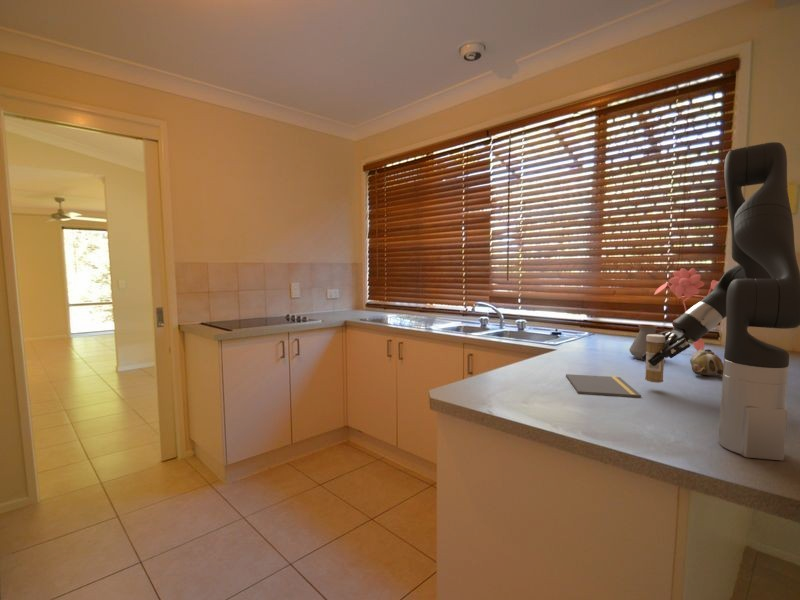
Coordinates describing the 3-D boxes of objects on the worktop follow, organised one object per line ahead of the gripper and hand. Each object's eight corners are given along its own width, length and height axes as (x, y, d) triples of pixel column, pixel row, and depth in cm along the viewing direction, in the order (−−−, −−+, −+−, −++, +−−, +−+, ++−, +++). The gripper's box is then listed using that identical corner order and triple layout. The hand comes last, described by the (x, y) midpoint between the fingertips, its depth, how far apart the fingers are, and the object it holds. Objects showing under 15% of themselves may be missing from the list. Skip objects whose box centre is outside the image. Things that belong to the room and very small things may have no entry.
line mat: (641, 397, 107) (641, 394, 107) (578, 393, 111) (578, 390, 111) (619, 379, 125) (619, 376, 125) (565, 376, 128) (566, 373, 128)
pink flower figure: (656, 344, 180) (661, 268, 177) (725, 355, 158) (731, 268, 155) (638, 348, 172) (642, 268, 169) (708, 359, 150) (714, 268, 147)
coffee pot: (624, 358, 153) (626, 319, 152) (635, 353, 161) (637, 317, 159) (690, 368, 137) (693, 326, 136) (699, 363, 144) (701, 323, 143)
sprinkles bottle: (666, 381, 113) (668, 335, 112) (658, 384, 111) (660, 336, 110) (649, 378, 117) (651, 333, 116) (641, 380, 115) (643, 334, 114)
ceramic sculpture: (720, 345, 134) (739, 357, 120) (718, 369, 135) (736, 384, 122) (683, 343, 138) (696, 354, 124) (681, 367, 139) (695, 381, 125)
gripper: (675, 309, 118) (628, 347, 121) (699, 314, 104) (646, 357, 108) (694, 327, 117) (647, 365, 121) (721, 335, 103) (667, 377, 107)
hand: (647, 361), depth 114 cm, fingers closed on sprinkles bottle, 4 cm apart
